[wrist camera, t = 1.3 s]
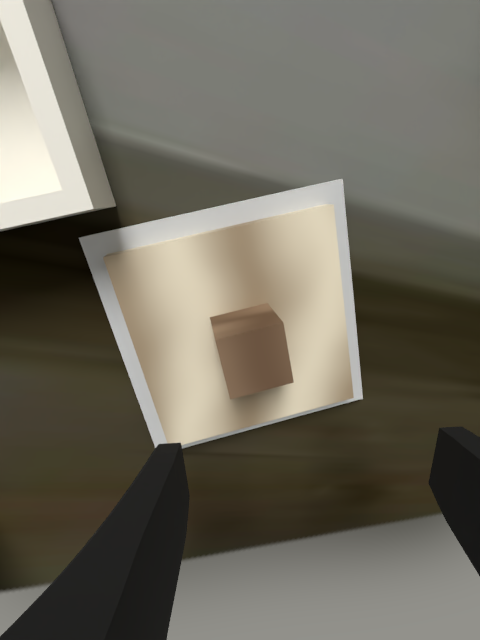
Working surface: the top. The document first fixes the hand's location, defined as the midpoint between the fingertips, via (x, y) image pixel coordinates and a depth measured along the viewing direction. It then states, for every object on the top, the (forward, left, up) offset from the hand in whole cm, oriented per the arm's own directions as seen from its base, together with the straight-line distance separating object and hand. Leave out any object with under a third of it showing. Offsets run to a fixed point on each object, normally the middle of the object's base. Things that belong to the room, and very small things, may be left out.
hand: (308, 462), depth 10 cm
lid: (0, 0, -10) cm, 10 cm away
